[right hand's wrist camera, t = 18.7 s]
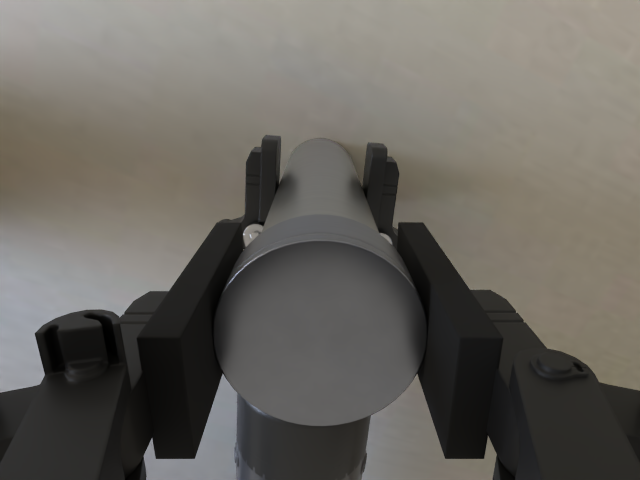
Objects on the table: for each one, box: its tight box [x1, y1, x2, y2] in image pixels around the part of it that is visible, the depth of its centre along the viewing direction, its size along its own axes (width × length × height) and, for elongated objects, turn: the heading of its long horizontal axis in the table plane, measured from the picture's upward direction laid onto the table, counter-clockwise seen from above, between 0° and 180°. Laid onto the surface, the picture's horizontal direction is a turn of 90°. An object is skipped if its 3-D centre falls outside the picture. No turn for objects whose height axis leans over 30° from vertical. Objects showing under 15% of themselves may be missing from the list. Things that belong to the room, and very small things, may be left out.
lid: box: [212, 214, 428, 426], centre depth 11 cm, size 5×5×2 cm
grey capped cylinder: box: [261, 138, 379, 233], centre depth 19 cm, size 4×4×18 cm
